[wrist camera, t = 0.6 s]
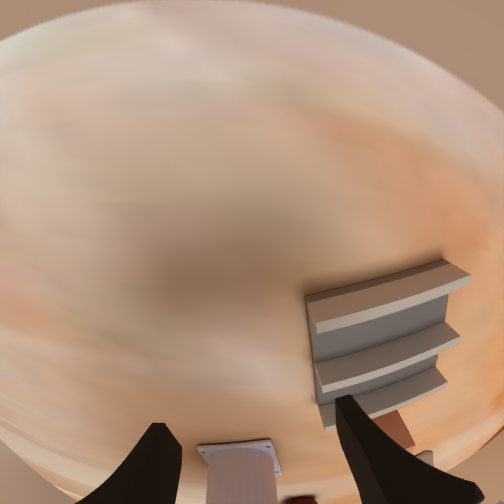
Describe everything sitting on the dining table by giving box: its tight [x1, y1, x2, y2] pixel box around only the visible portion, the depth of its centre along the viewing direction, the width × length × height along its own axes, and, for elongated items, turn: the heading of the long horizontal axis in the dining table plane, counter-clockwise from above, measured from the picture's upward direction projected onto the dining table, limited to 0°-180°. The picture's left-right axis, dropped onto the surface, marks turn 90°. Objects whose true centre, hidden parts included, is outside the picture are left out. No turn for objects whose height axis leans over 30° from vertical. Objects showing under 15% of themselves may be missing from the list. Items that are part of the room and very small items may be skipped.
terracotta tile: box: [372, 410, 415, 454], centre depth 20 cm, size 8×3×7 cm, turn 12°
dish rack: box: [304, 259, 471, 432], centre depth 18 cm, size 12×12×4 cm
